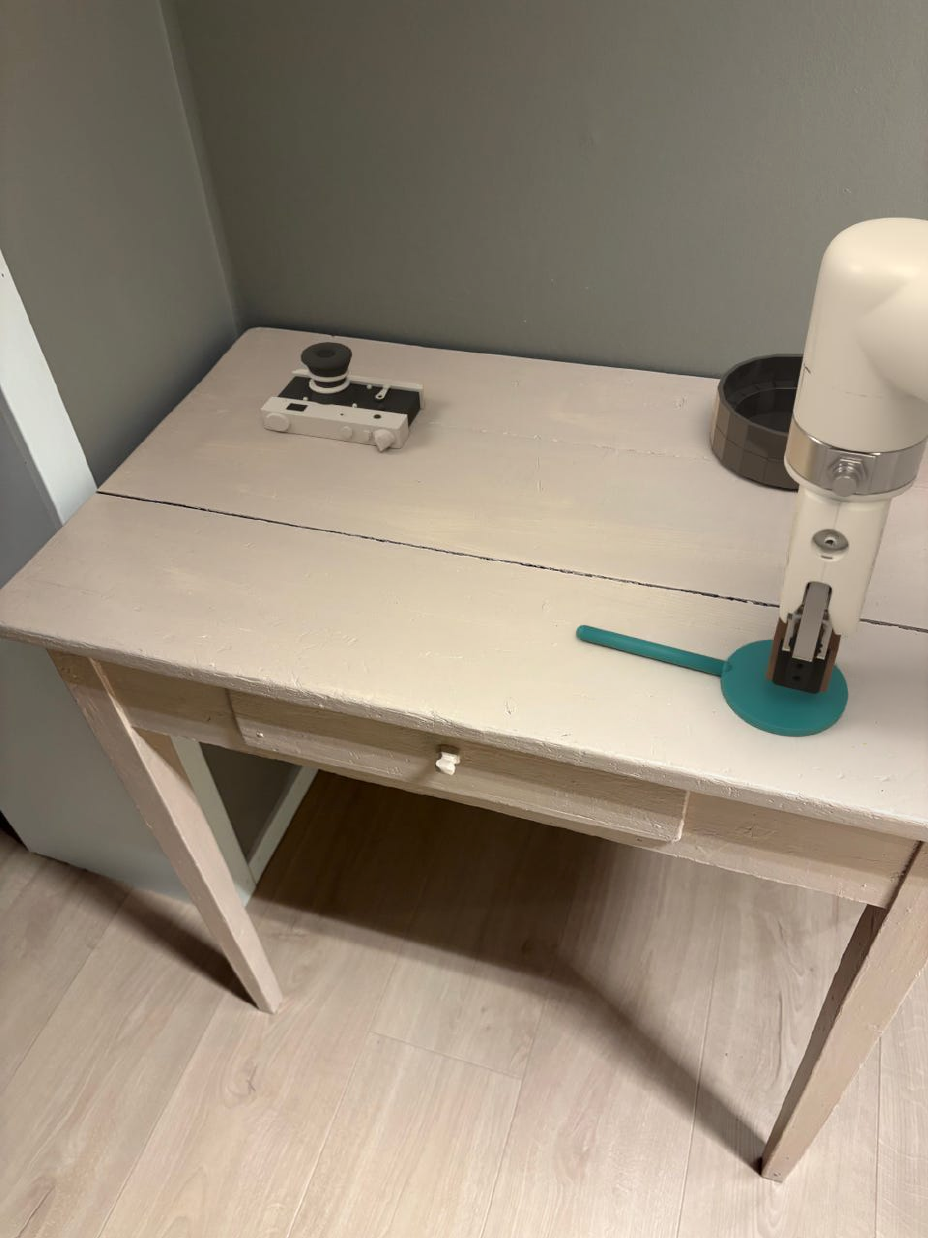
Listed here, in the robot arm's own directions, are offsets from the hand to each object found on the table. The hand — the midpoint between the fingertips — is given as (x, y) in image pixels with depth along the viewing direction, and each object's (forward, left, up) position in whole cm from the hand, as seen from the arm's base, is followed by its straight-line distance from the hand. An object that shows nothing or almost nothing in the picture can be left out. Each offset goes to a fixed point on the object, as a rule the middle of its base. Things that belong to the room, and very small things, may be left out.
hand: (801, 660), depth 69 cm
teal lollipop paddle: (+6, 0, -4) cm, 7 cm away
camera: (+50, -22, -4) cm, 55 cm away
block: (0, 0, -1) cm, 1 cm away
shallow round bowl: (+6, -32, -4) cm, 33 cm away
